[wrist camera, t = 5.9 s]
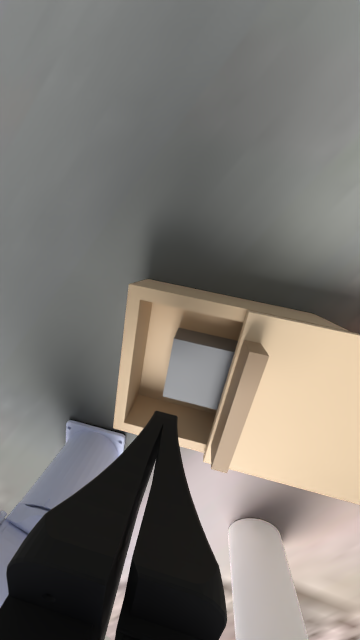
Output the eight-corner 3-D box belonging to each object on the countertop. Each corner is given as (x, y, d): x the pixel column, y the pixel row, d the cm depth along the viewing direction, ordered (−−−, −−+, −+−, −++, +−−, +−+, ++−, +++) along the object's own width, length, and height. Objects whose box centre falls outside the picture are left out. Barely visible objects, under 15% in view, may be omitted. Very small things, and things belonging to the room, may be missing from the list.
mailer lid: (387, 505, 17) (418, 547, 14) (203, 455, 18) (202, 486, 16) (494, 362, 13) (564, 386, 10) (247, 310, 14) (256, 320, 11)
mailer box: (265, 429, 23) (281, 473, 18) (131, 395, 24) (112, 428, 19) (312, 313, 18) (349, 330, 14) (147, 278, 20) (128, 283, 15)
